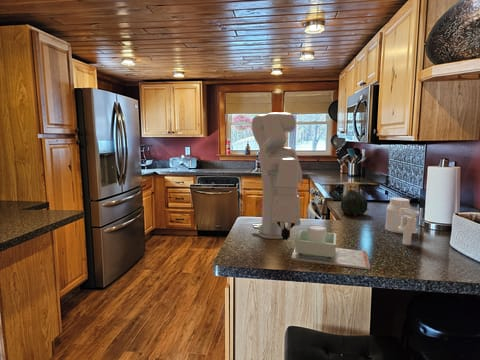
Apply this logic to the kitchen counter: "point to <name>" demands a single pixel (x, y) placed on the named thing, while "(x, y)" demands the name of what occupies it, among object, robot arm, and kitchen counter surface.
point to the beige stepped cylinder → (408, 224)
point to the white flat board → (338, 258)
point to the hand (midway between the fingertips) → (285, 239)
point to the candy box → (350, 187)
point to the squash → (354, 203)
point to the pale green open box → (316, 245)
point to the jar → (395, 213)
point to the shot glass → (316, 233)
